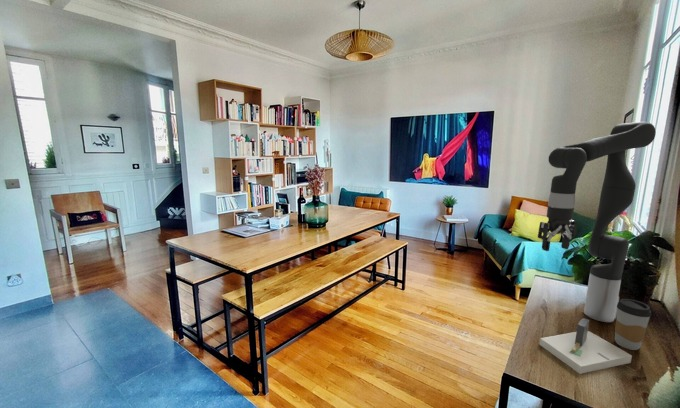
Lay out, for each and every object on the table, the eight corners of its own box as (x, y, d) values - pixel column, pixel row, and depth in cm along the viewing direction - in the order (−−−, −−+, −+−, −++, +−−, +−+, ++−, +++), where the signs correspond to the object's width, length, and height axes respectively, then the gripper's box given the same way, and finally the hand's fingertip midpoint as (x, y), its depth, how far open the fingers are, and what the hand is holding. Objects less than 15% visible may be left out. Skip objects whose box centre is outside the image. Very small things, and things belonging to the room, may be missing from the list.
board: (585, 336, 108) (586, 329, 108) (630, 362, 95) (632, 355, 94) (539, 344, 104) (540, 337, 103) (579, 373, 90) (581, 365, 90)
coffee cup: (635, 339, 106) (642, 300, 103) (650, 354, 98) (658, 312, 96) (606, 335, 109) (612, 296, 106) (618, 349, 101) (625, 308, 98)
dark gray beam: (586, 339, 102) (589, 320, 101) (577, 353, 95) (580, 333, 94) (579, 336, 104) (582, 317, 102) (570, 350, 97) (573, 330, 95)
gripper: (567, 202, 112) (561, 244, 115) (535, 204, 109) (530, 247, 112) (587, 206, 105) (581, 251, 108) (554, 208, 101) (548, 254, 104)
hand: (555, 249), depth 110 cm, fingers open, 8 cm apart
